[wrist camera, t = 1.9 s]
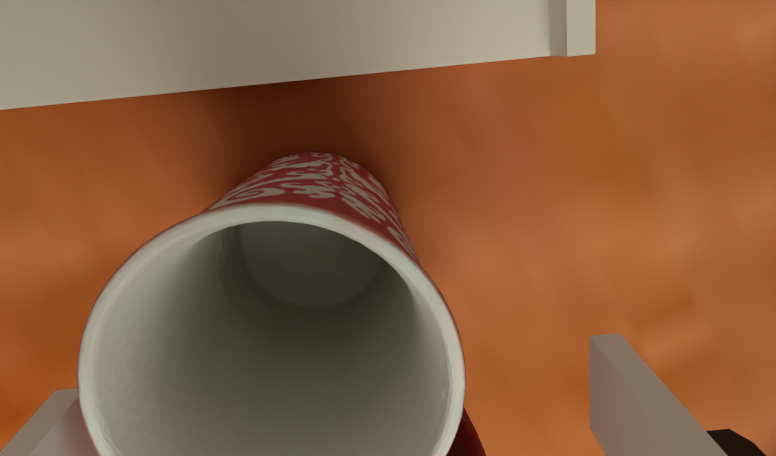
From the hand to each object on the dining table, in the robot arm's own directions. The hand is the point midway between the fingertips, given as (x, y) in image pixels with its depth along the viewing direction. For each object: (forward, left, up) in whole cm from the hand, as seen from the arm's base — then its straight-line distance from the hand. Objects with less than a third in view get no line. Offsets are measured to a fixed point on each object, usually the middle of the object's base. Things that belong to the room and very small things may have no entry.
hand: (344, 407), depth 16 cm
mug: (0, 0, -12) cm, 12 cm away
